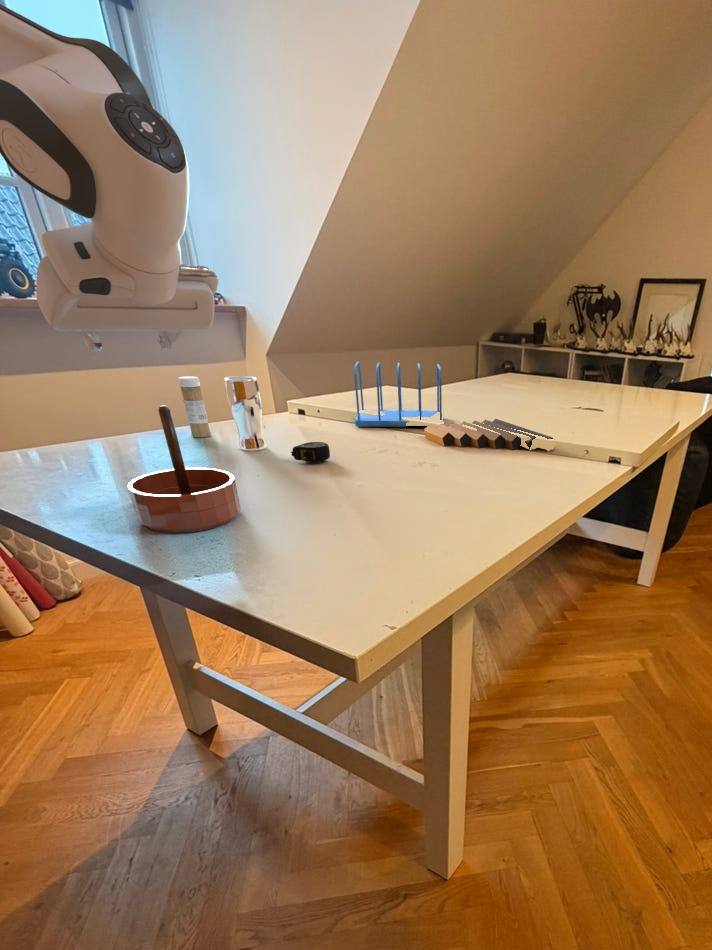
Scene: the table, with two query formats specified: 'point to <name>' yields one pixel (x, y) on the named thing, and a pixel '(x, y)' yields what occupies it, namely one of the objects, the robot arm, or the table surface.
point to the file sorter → (395, 416)
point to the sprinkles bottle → (194, 406)
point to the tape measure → (311, 452)
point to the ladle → (174, 449)
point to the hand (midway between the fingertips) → (130, 346)
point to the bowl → (185, 500)
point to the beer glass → (246, 411)
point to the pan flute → (480, 435)
